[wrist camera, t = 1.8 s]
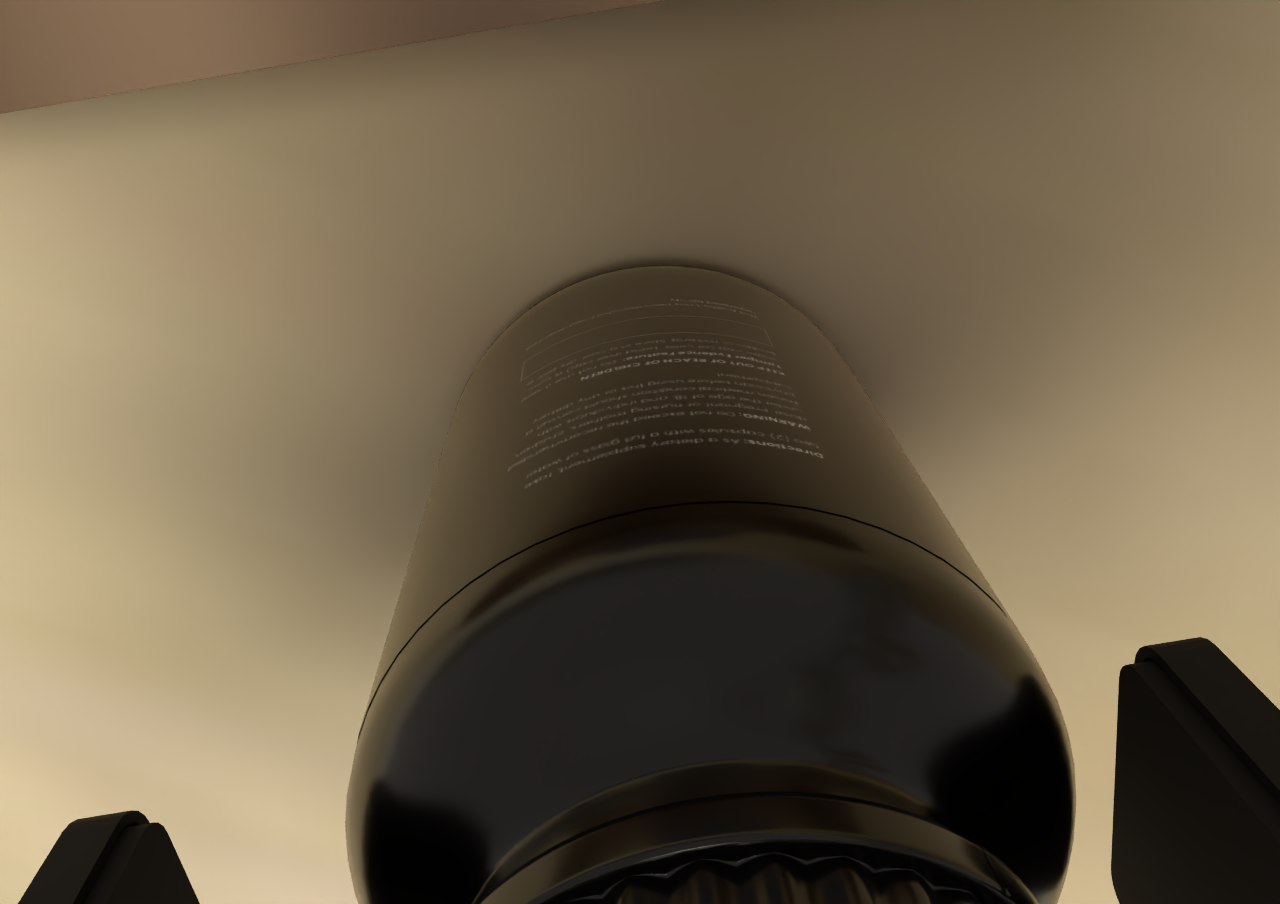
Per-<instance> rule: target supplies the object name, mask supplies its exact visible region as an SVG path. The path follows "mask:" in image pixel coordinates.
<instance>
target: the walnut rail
mask: <svg viewBox="0 0 1280 904" xmlns="http://www.w3.org/2000/svg"><path fill="white" fill-rule="evenodd" d="M657 1H663V0H0V114H1V113H6V112H12V111H18V110H24V109H30V108H36V107H42V106H47V105H53V104H59V103H65V102H71V101H77V100H83V99H88V98H94V97H100V96H106V95H112V94H118V93H124V92H129V91H135V90H141V89H147V88H153V87H159V86H165V85H170V84H176V83H182V82H188V81H194V80H200V79H206V78H211V77H217V76H223V75H229V74H235V73H241V72H247V71H252V70H258V69H264V68H270V67H276V66H282V65H288V64H294V63H299V62H305V61H311V60H317V59H323V58H329V57H335V56H340V55H346V54H352V53H358V52H364V51H370V50H376V49H381V48H387V47H393V46H399V45H405V44H411V43H417V42H422V41H428V40H434V39H440V38H446V37H452V36H458V35H463V34H469V33H475V32H481V31H487V30H493V29H499V28H504V27H510V26H516V25H522V24H528V23H534V22H540V21H545V20H551V19H557V18H563V17H569V16H575V15H581V14H586V13H592V12H598V11H604V10H610V9H616V8H622V7H627V6H633V5H639V4H645V3H651V2H657Z"/></svg>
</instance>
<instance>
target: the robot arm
mask: <svg viewBox="0 0 1280 904" xmlns="http://www.w3.org/2000/svg"><path fill="white" fill-rule="evenodd" d="M1111 875H1112V881H1113V886H1114V889H1115V893H1116V896H1117V898H1118V901H1119V903H1120V904H1280V710H1279V709H1278V708H1277V707H1276V706H1275V705H1274V704H1273V703H1272V702H1271V701H1270V700H1269V699H1268V698H1267V697H1266V696H1265V695H1264V694H1263V693H1262V692H1261V691H1260V690H1259V689H1258V688H1257V687H1256V686H1255V685H1254V684H1253V683H1252V682H1251V681H1250V680H1249V679H1248V678H1247V677H1246V676H1245V675H1244V674H1243V673H1242V672H1241V671H1240V670H1239V669H1238V667H1237V666H1236V665H1235V664H1234V663H1233V662H1232V661H1231V660H1230V659H1229V658H1228V657H1227V656H1226V655H1225V654H1224V653H1223V652H1222V651H1221V650H1220V649H1219V648H1218V647H1217V646H1216V645H1215V644H1213V643H1212V642H1211V641H1209V640H1208V639H1205V638H1201V637H1198V638H1192V639H1186V640H1180V641H1174V642H1167V643H1161V644H1155V645H1149V646H1144V647H1142V648H1140V649H1139V650H1138V652H1137V654H1136V657H1135V663H1134V664H1129V665H1125V666H1123V667H1122V669H1121V671H1120V677H1119V695H1118V718H1117V742H1116V765H1115V789H1114V812H1113V835H1112V859H1111ZM18 904H200V903H199V901H198V899H197V897H196V895H195V892H194V890H193V888H192V886H191V884H190V881H189V879H188V877H187V875H186V872H185V870H184V868H183V866H182V864H181V861H180V859H179V857H178V855H177V853H176V850H175V848H174V846H173V844H172V842H171V839H170V837H169V835H168V833H167V831H166V830H165V828H164V826H162V825H161V824H159V823H149V821H148V820H147V818H146V816H145V815H143V814H142V813H141V812H139V811H126V812H120V813H114V814H108V815H101V816H95V817H89V818H83V819H77V820H75V821H74V822H72V823H70V824H69V825H68V826H67V827H66V828H65V830H64V831H63V832H62V834H61V835H60V837H59V838H58V840H57V842H56V843H55V845H54V846H53V848H52V850H51V851H50V853H49V855H48V856H47V858H46V859H45V861H44V863H43V864H42V866H41V867H40V869H39V871H38V872H37V874H36V875H35V877H34V879H33V880H32V882H31V884H30V885H29V887H28V888H27V890H26V892H25V893H24V895H23V896H22V898H21V900H20V901H19V903H18Z"/></svg>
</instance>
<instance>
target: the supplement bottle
mask: <svg viewBox="0 0 1280 904" xmlns="http://www.w3.org/2000/svg"><path fill="white" fill-rule="evenodd" d="M1075 813H1076V787H1075V770H1074V761H1073V756H1072V750H1071V745H1070V740H1069V736H1068V731H1067V727H1066V724H1065V722H1064V719H1063V716H1062V713H1061V710H1060V707H1059V704H1058V701H1057V699H1056V697H1055V695H1054V693H1053V691H1052V689H1051V687H1050V685H1049V683H1048V681H1047V679H1046V677H1045V675H1044V673H1043V671H1042V669H1041V667H1040V665H1039V663H1038V661H1037V659H1036V658H1035V656H1034V654H1033V653H1032V651H1031V650H1030V648H1029V646H1028V645H1027V643H1026V641H1025V640H1024V638H1023V637H1022V635H1021V633H1020V632H1019V630H1018V629H1017V627H1016V626H1015V624H1014V622H1013V621H1012V619H1011V618H1010V616H1009V615H1008V613H1007V611H1006V610H1005V608H1004V607H1003V605H1002V604H1001V602H1000V601H999V599H998V597H997V596H996V594H995V593H994V591H993V590H992V588H991V587H990V585H989V583H988V582H987V580H986V579H985V577H984V576H983V574H982V573H981V571H980V569H979V568H978V566H977V565H976V563H975V562H974V560H973V559H972V557H971V555H970V554H969V552H968V551H967V549H966V548H965V546H964V545H963V543H962V541H961V540H960V538H959V537H958V535H957V534H956V532H955V531H954V529H953V527H952V526H951V524H950V523H949V521H948V520H947V518H946V517H945V515H944V513H943V512H942V510H941V509H940V507H939V506H938V504H937V503H936V501H935V499H934V498H933V496H932V495H931V493H930V492H929V490H928V489H927V487H926V486H925V484H924V482H923V481H922V479H921V478H920V476H919V475H918V473H917V472H916V470H915V468H914V467H913V465H912V464H911V462H910V461H909V459H908V458H907V456H906V454H905V453H904V451H903V450H902V448H901V447H900V445H899V444H898V442H897V440H896V439H895V437H894V436H893V434H892V433H891V431H890V430H889V428H888V426H887V425H886V423H885V422H884V420H883V419H882V417H881V416H880V414H879V412H878V411H877V409H876V408H875V406H874V405H873V403H872V402H871V400H870V398H869V397H868V395H867V394H866V392H865V391H864V389H863V388H862V386H861V384H860V383H859V381H858V380H857V378H856V377H855V375H854V374H853V372H852V370H851V369H850V368H849V366H848V365H847V363H846V362H845V360H844V359H843V358H842V356H841V355H840V353H839V352H838V350H837V349H836V348H835V347H834V345H833V344H832V343H831V342H830V341H829V340H828V338H827V337H826V336H825V335H824V334H823V333H822V332H821V331H820V330H819V329H818V328H817V327H816V326H815V325H814V324H813V323H812V322H811V321H810V320H809V319H808V318H807V317H806V316H805V315H803V314H802V313H801V312H799V311H798V310H797V309H796V308H794V307H793V306H792V305H790V304H789V303H788V302H786V301H784V300H783V299H781V298H779V297H778V296H776V295H775V294H773V293H771V292H769V291H767V290H765V289H763V288H761V287H759V286H757V285H755V284H753V283H750V282H748V281H745V280H742V279H740V278H737V277H734V276H731V275H727V274H723V273H719V272H716V271H712V270H706V269H699V268H693V267H683V266H645V267H637V268H630V269H622V270H618V271H614V272H610V273H605V274H601V275H598V276H595V277H592V278H589V279H586V280H583V281H580V282H578V283H576V284H573V285H571V286H569V287H567V288H565V289H562V290H560V291H558V292H556V293H555V294H553V295H551V296H550V297H548V298H546V299H544V300H543V301H541V302H539V303H538V304H537V305H535V306H534V307H532V308H531V309H530V310H528V311H527V312H525V313H524V314H523V315H521V316H520V317H519V318H518V319H517V320H516V321H515V322H514V323H512V324H511V325H510V326H509V327H508V328H507V329H506V330H505V331H504V332H503V333H502V334H501V335H500V336H499V337H498V339H497V340H496V341H495V342H494V343H493V344H492V345H491V347H490V348H489V349H488V351H487V352H486V353H485V355H484V356H483V357H482V359H481V360H480V362H479V363H478V365H477V367H476V368H475V370H474V372H473V374H472V375H471V377H470V379H469V380H468V382H467V384H466V386H465V389H464V391H463V393H462V395H461V397H460V400H459V402H458V405H457V408H456V411H455V414H454V417H453V420H452V422H451V425H450V428H449V431H448V434H447V437H446V440H445V443H444V447H443V450H442V453H441V457H440V460H439V463H438V467H437V470H436V474H435V477H434V480H433V484H432V487H431V491H430V494H429V497H428V501H427V504H426V507H425V511H424V514H423V518H422V521H421V524H420V528H419V531H418V535H417V538H416V541H415V545H414V548H413V552H412V555H411V558H410V562H409V565H408V569H407V572H406V575H405V579H404V582H403V585H402V589H401V592H400V596H399V599H398V602H397V606H396V609H395V613H394V616H393V619H392V623H391V626H390V630H389V633H388V636H387V640H386V643H385V646H384V650H383V653H382V657H381V660H380V663H379V667H378V670H377V674H376V677H375V680H374V684H373V687H372V691H371V694H370V698H369V701H368V704H367V708H366V711H365V715H364V718H363V722H362V725H361V729H360V732H359V737H358V742H357V747H356V751H355V756H354V761H353V767H352V772H351V777H350V782H349V787H348V793H347V804H346V820H345V826H346V842H347V856H348V863H349V868H350V873H351V878H352V882H353V887H354V891H355V895H356V898H357V901H358V904H1057V903H1058V900H1059V897H1060V894H1061V891H1062V888H1063V885H1064V882H1065V878H1066V875H1067V870H1068V865H1069V860H1070V856H1071V851H1072V845H1073V839H1074V826H1075Z"/></svg>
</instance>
